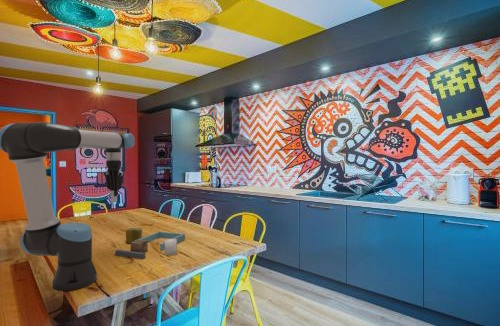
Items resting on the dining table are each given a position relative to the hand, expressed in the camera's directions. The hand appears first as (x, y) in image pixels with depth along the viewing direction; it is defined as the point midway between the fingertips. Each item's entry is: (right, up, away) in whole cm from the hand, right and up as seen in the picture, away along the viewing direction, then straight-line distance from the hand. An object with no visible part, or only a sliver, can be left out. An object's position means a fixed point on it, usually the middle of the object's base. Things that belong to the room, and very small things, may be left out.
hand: (114, 201), depth 151 cm
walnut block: (+17, -26, -7) cm, 32 cm away
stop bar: (+15, -26, -13) cm, 33 cm away
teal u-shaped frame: (+23, -26, +10) cm, 36 cm away
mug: (+6, -27, +15) cm, 31 cm away
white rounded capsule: (+34, -26, -8) cm, 44 cm away
